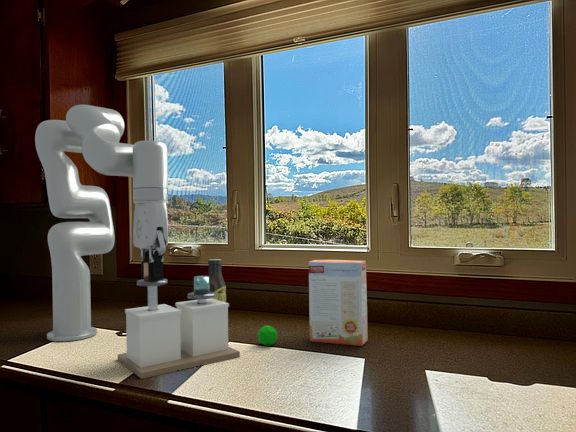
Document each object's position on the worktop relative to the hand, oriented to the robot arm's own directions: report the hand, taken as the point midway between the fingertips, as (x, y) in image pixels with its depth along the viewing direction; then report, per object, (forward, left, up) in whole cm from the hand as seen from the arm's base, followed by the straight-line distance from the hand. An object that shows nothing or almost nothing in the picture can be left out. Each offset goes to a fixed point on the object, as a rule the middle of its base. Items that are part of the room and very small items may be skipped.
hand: (152, 278), depth 103 cm
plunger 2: (0, +12, -15) cm, 19 cm away
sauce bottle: (-22, +27, -19) cm, 40 cm away
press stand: (0, +6, -19) cm, 20 cm away
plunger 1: (0, 0, -11) cm, 11 cm away
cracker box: (+13, +44, -19) cm, 50 cm away
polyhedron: (+4, +28, -19) cm, 34 cm away
